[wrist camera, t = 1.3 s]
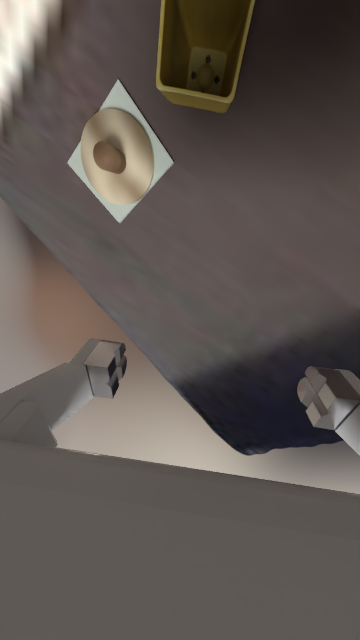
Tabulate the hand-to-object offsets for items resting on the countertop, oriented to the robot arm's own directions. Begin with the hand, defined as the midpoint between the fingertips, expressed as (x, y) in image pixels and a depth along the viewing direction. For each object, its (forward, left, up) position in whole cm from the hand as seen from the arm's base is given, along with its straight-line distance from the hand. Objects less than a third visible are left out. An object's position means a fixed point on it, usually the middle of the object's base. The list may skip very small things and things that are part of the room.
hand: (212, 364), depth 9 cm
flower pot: (-11, -17, -34) cm, 40 cm away
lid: (+5, -19, -33) cm, 38 cm away
